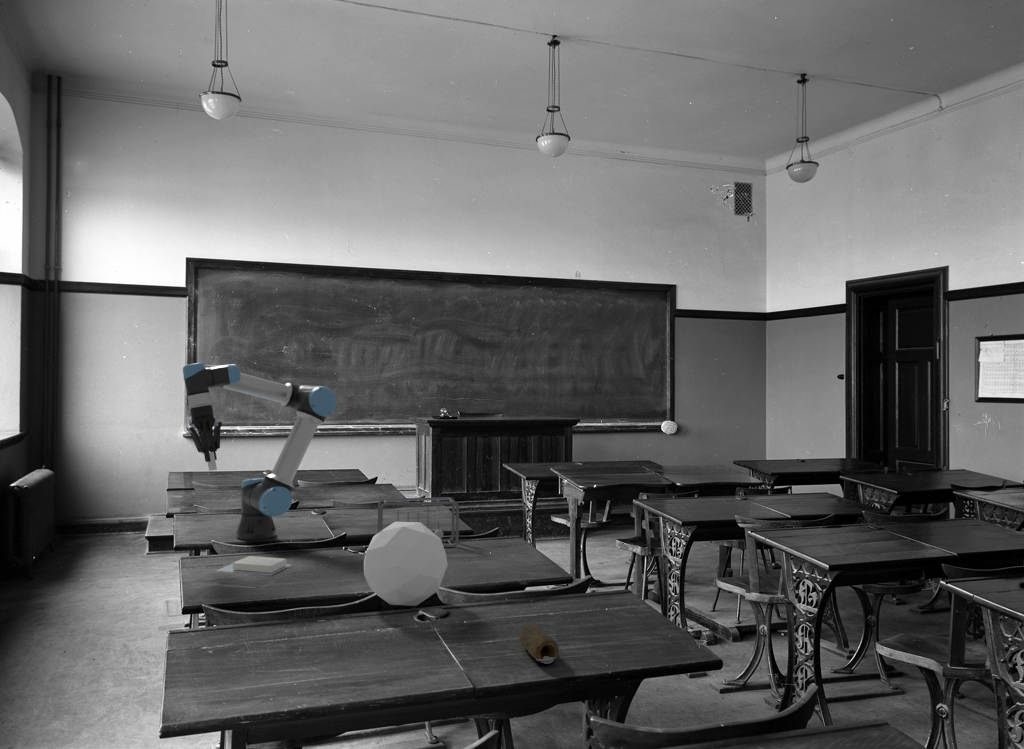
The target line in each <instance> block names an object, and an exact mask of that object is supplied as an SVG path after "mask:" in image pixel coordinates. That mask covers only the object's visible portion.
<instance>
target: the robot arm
mask: <svg viewBox="0 0 1024 749" xmlns="http://www.w3.org/2000/svg"><path fill="white" fill-rule="evenodd" d="M182 374H183V381H184V385H185V390H186V395H187V401H188V404H189V407H190V409H189V411H190V416H191V420H192V422H191V425H190V426H189V427H187V428H186V431H187V432H188V433H189V434H190V437H191V438H192V441H193V443H194V446H195V447H196V449H197V452H198V453H201V454H203V457H204V461H205V463H207V466H208V471H209V472H211V471H212V472H213V471H215V470H218V468H217V462H216V461H217V459H218V458H217V451H218V450H219V449H220V448H221V428H222V425H223V423H222V421H217V420H216V418H215V417H214V409H213V405H211V404H212V399H211V395H210V389H212V388H222V389H225V390H229V391H233V392H237V393H241V394H245V395H248V396H249V395H250V396H252V397H253V396H254V397H257V398H261V399H266V400H269V401H273V402H276V403H279V404H280V405H281V406H282V407H287V408H290V409H292V410H295V413H296V416H297V417H296V419H295V422H294V424H293V426H292V429H291V430H290V433H289V435H288V436H287V439H286V441H285V443H284V446H283V447H282V450H281V452H280V454H279V455H278V459H277V460H276V463H275V465H274V467H273V469H272V471H271V472H270V473H268V474H266V475H265V476H264V477H260V478H247V479H243V480H242V482H241V487H240V490H241V493H240V494H241V495H240V496H241V498H240V504H241V505H240V506H241V507H240V508H241V509H240V511H241V513H240V515H241V516H240V520H239V522H238V526H237V529H236V531H235V533H236V535H235V536H236V538H237V539H239V540H248V541H250V540H252V541H253V540H254V541H256V540H266V539H271V538H273V537H276V535H277V528H276V525H275V522H274V519H273V517H279V516H282V515H284V514H285V513H287V511H289V509H290V508H291V505H292V503H293V496H292V492H293V490H294V488H295V486H294V484H293V480H294V478H295V476H296V474H297V472H298V470H299V468H300V465H301V463H302V461H303V458H304V457H305V454H306V453H307V450H308V448H309V447H310V444H311V442H312V440H313V437H314V435H315V432H316V431H317V428H318V427H319V426H321V425H324V423H325V421H326V418H327V417H328V416H329V415H331V414H333V413H334V412H335V410H336V408H337V403H338V402H337V397H336V394H335V392H334V391H333V390H332V389H331V388H330V387H327V386H323V385H310V384H295V383H294V384H293V383H290V382H286V383H285V384H284V383H281V382H278V381H273V380H269V379H265V378H262V377H259V376H254V375H251V374H247V373H243V372H241V371H240V368H239V366H238V365H237V364H235V363H232V364H228V363H227V364H223V365H222V364H221V365H219V364H217V365H216V364H204V363H203V362H196V363H195V362H194V363H190V364H186V365H183V367H182Z"/></svg>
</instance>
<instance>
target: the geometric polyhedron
mask: <svg viewBox="0 0 1024 749" xmlns="http://www.w3.org/2000/svg"><path fill="white" fill-rule="evenodd" d="M441 540H442V538H441V539H440V538H439V537H438V536H437V535H435V534H434V532H433V531H431V530H430V529H429V527H428V526H426V525H424V524H423V523H422V522H420V521H419V522H418V521H416V522H413V521H409V522H408V521H399V522H398V521H397V522H395V521H393V522H392V523H391V524H390V525H388V526H386V527H385V528H382V531H381V532H379V533H378V532H377V533H376V534H375V535H374V536H373V537H372V539H371V540H370V543H369V545H368V547H367V550H366V551H365V552H366V553H365V556H364V559H363V577H364V578H365V581H366V582H367V584H368V587H369V588H370V589H371V590H372V591H373V593H375V594H376V596H378V597H380V599H382V600H383V601H385V602H386V603H387V604H389V605H391V606H410V607H411V606H412V607H417V606H418V605H419V604H421V603H422V602H424V601H425V600H427V599H429V598H430V597H431V596H433V595H434V594H436V593H437V592H438V591H439V590H440V587H441V584H442V582H443V580H444V576H445V573H446V571H447V568H448V560H447V559H448V558H447V554H446V550H445V548H444V547H443V545H444V543H443V542H442V541H441Z"/></svg>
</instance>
